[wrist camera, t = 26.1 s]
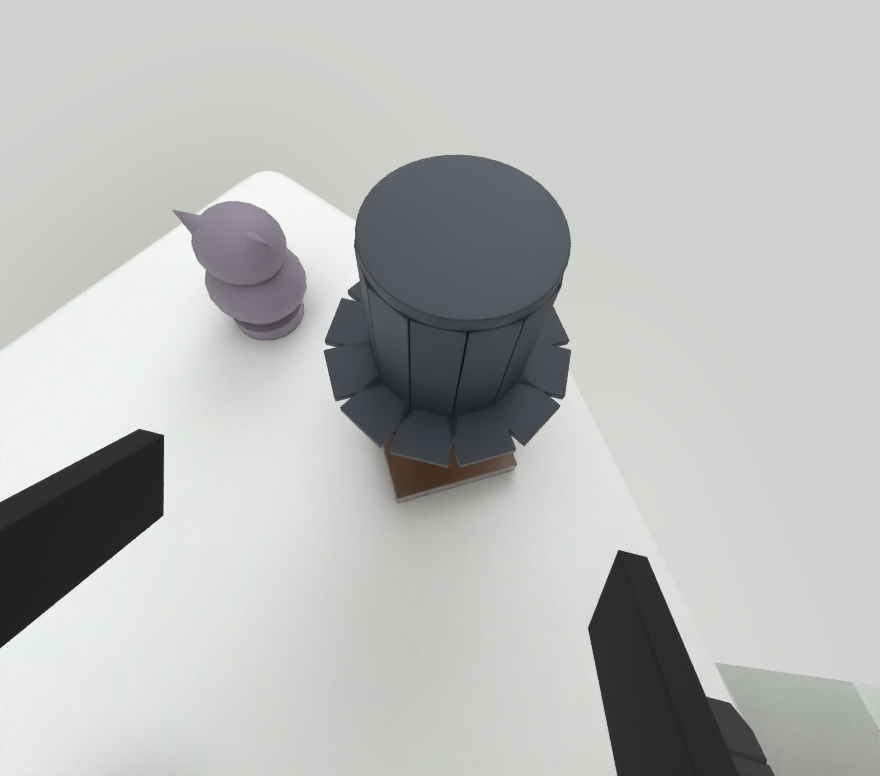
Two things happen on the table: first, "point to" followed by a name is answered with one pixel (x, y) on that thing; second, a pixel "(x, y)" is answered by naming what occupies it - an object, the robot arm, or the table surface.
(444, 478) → the stand
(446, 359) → the hat
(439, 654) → the table surface
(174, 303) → the table surface
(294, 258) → the cat figurine
